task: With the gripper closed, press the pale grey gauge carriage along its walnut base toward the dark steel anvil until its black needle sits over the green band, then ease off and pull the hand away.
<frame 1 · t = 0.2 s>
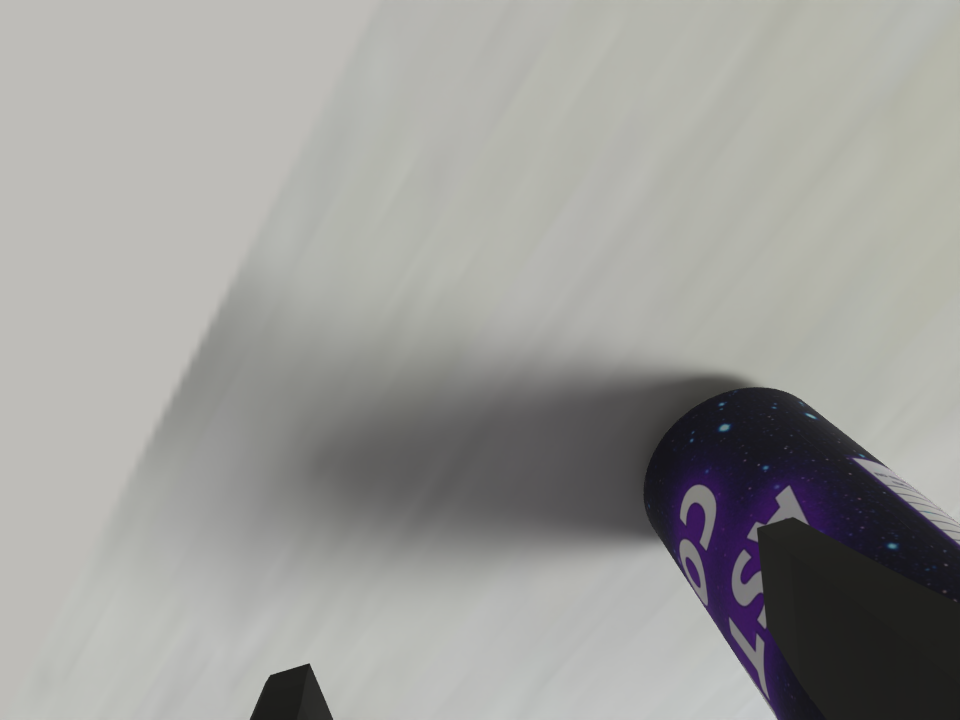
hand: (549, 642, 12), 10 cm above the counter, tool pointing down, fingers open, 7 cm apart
beverage can: (720, 457, 24), on the counter
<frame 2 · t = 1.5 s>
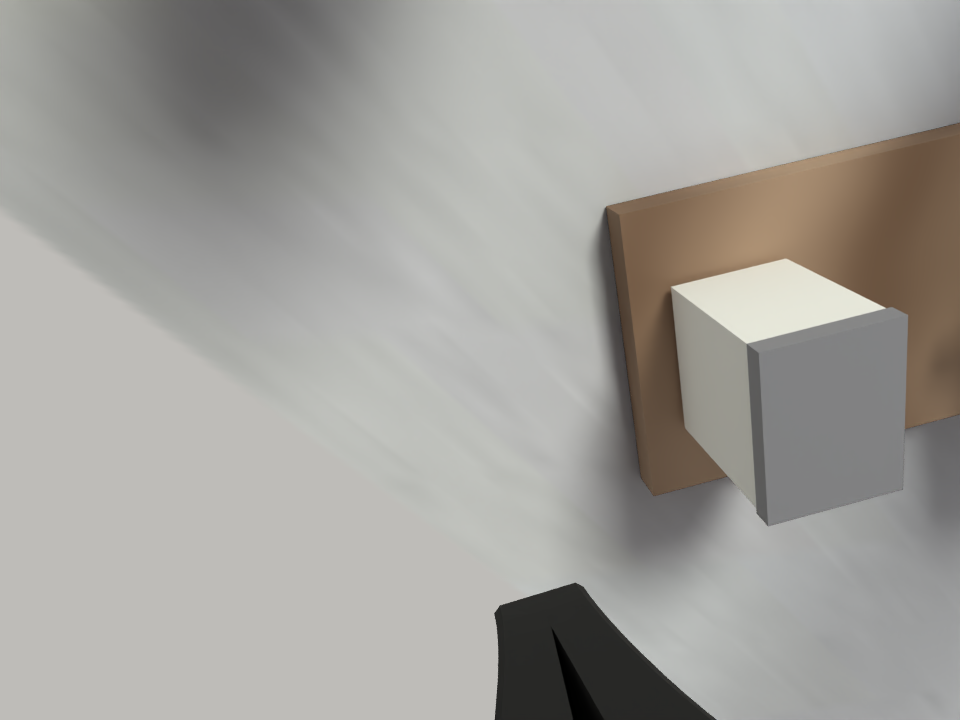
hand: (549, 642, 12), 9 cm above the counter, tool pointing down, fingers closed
gauge carriage: (780, 412, 19), point 3 cm above the counter, slide at 0.0 cm
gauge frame: (885, 286, 22), on the counter
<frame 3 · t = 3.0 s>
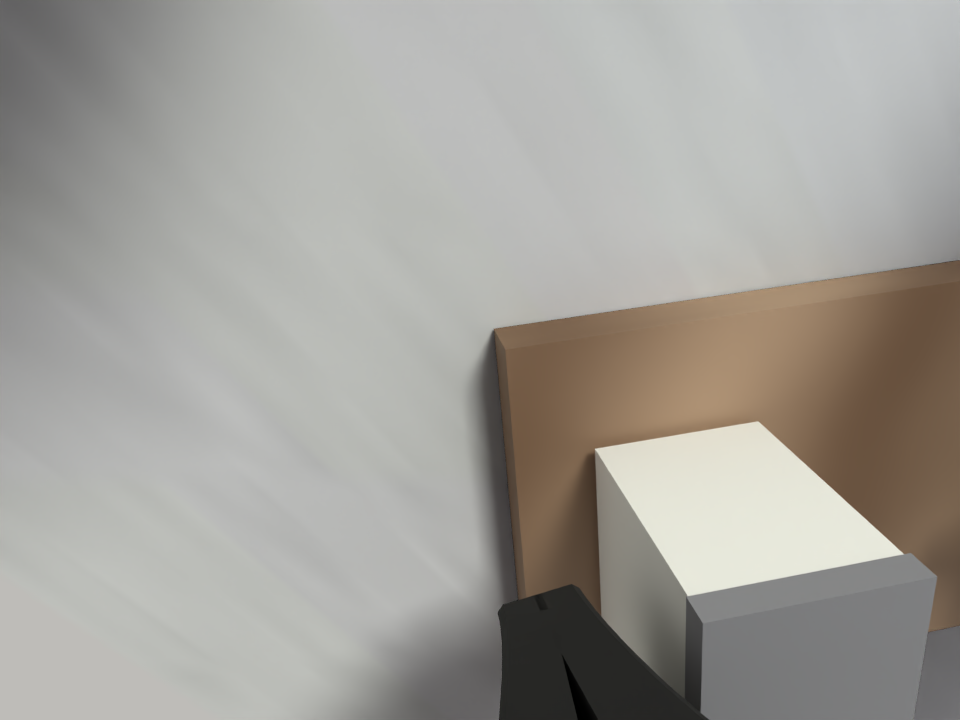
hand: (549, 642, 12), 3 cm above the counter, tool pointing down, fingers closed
gauge carriage: (731, 650, 13), point 3 cm above the counter, slide at 0.4 cm, touching gripper
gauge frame: (867, 457, 16), on the counter
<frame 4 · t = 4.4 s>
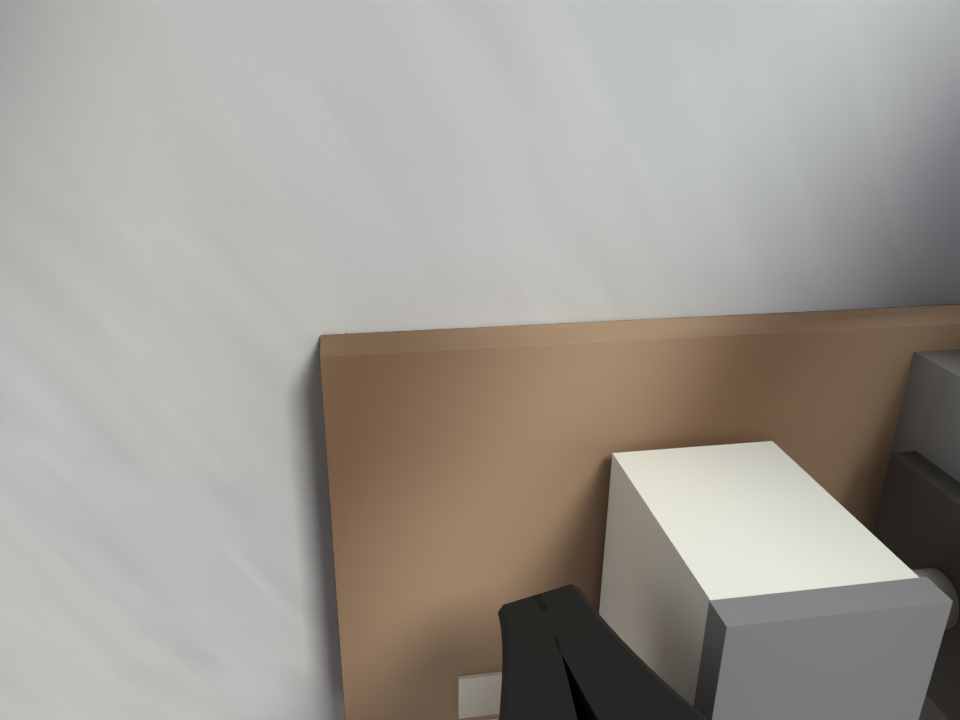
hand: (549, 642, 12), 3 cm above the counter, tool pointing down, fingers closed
gauge carriage: (730, 663, 13), point 3 cm above the counter, slide at 3.9 cm, touching gripper
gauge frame: (710, 502, 16), on the counter
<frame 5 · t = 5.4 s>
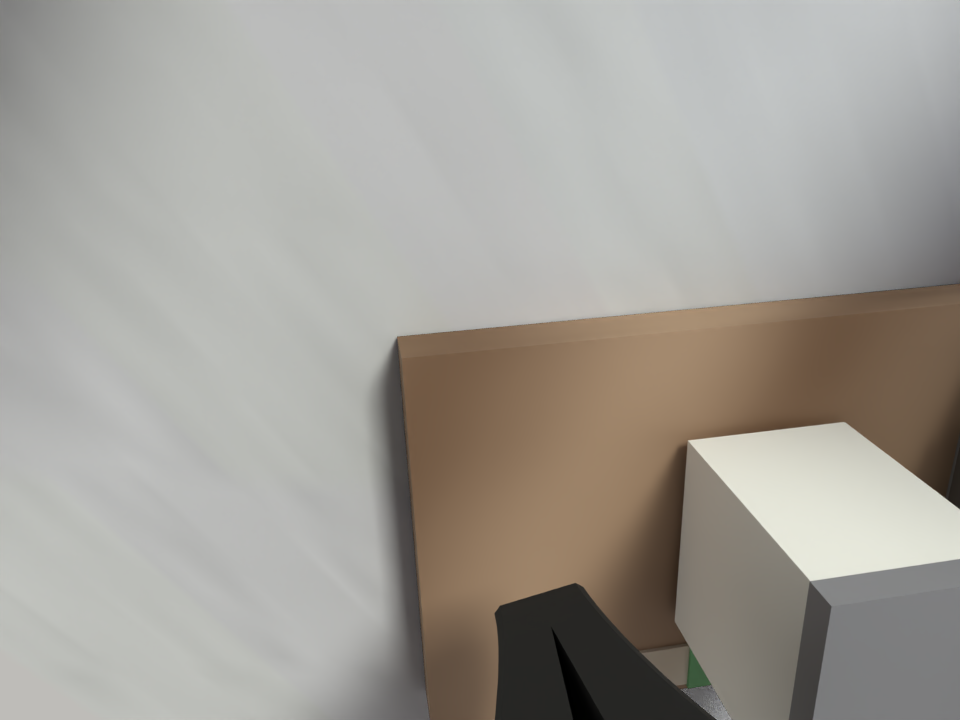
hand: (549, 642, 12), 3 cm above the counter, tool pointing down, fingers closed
gauge carriage: (817, 643, 13), point 3 cm above the counter, slide at 3.9 cm
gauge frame: (779, 485, 16), on the counter
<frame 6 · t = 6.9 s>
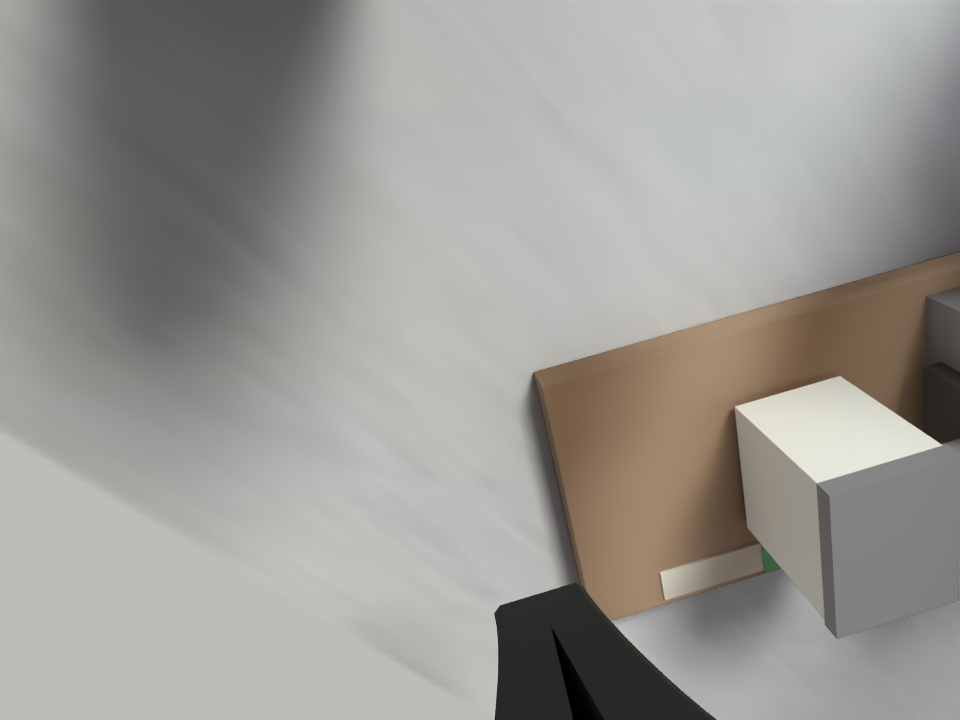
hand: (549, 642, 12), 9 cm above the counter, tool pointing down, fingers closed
gauge carriage: (840, 524, 20), point 3 cm above the counter, slide at 3.9 cm
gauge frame: (806, 423, 23), on the counter
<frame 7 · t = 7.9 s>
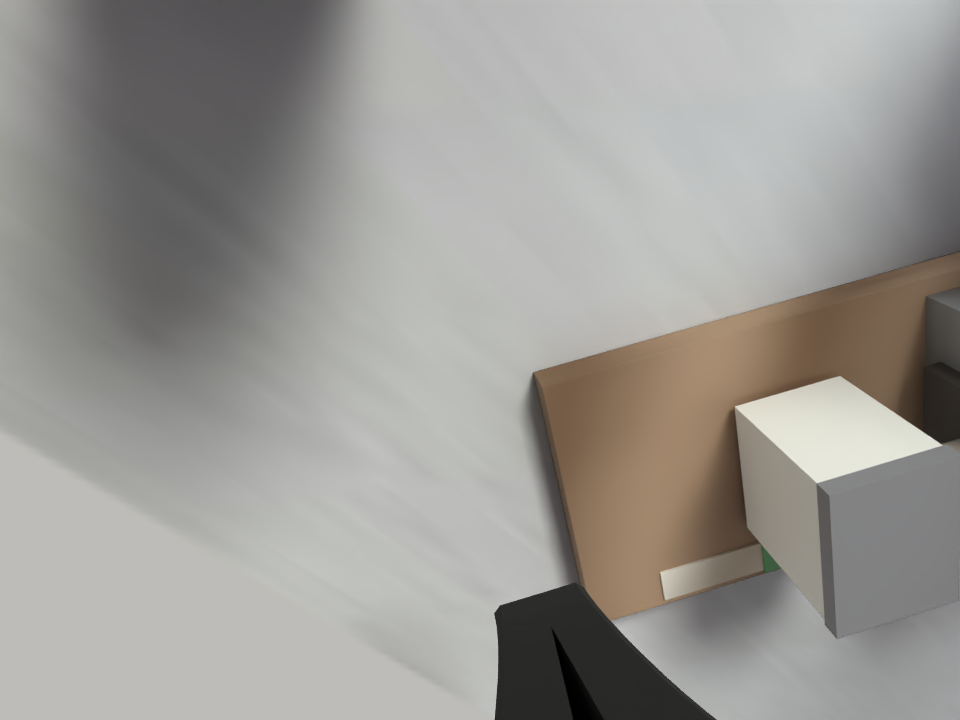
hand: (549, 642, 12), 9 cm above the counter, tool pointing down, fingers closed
gauge carriage: (840, 524, 20), point 3 cm above the counter, slide at 3.9 cm
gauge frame: (806, 423, 23), on the counter
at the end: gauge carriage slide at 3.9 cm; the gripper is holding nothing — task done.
